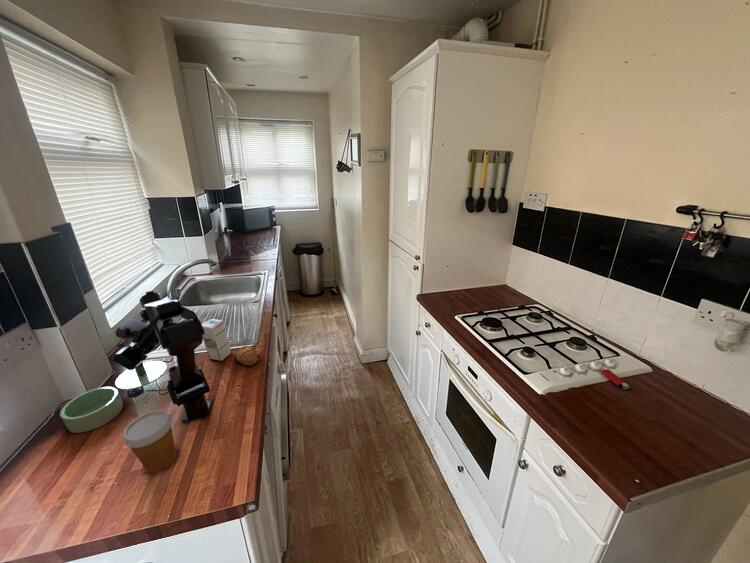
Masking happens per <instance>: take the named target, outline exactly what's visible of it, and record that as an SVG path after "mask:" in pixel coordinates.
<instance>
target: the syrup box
mask: <svg viewBox="0 0 750 563" xmlns="http://www.w3.org/2000/svg"><path fill="white" fill-rule="evenodd" d="M201 324H202V326H203V329H204V335H202V336H203V343H204V346H205V350H206V353H207V357H208V359H209V360H213V361H219V362H222V361H223V360H225V359H226V358H227V357H228V356H229V355H230V354H231V353H232V350H231V346H230V342H229V338H228V334H227V331H226V326H225V322H224V320H223V319H216V318H215V319H214V318H210V319H208V320H206V321H204V322H203V323H201Z"/></svg>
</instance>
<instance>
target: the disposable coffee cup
mask: <svg viewBox="0 0 750 563" xmlns="http://www.w3.org/2000/svg"><path fill="white" fill-rule="evenodd" d="M172 422H173V418H172V416H171V415H170V414H169V413H167V411H165V410H152V411H148V412H145V413H143V414H141V415H139V416H138V417H136V418H134V419H133V420H132V421H130V422H129V423H128V425H127V426H126V427H125V429H124V431H123V436H122V442H123V444H124V445H125V446H127V447H129V448H130V449H131V451H132V453H133V454H134V455H135V456H136V458H137V459H138V461H139V462H140V463H141V465H142V466H143V467H144V469H145V470H146V472H148V473H152V474H155V473H159V472H161V471H164V470H165V469H167V468H168V467H170V466H171V465H172V463H174V461H175V460H176V458H177V451H176V446H175V440H174V434H173V426H172V424H173V423H172Z"/></svg>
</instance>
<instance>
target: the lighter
mask: <svg viewBox="0 0 750 563" xmlns="http://www.w3.org/2000/svg"><path fill="white" fill-rule="evenodd" d="M600 372H601V374H603V376H605V377H606V378H607V379H609V381H611V382H612V383H613V384H614V385H616V386H617V387H618V388H620V389H621V388H622V389H623V390H628V389H630V385H629V384H628V383H626V382H625V381H624V380H622V379H621V378H620V377H619V376H618V375H616V374H615V373H614V372H612V370H610V369H609V368H607V369H602V370H601V371H600Z"/></svg>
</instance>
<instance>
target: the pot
mask: <svg viewBox="0 0 750 563" xmlns="http://www.w3.org/2000/svg"><path fill="white" fill-rule="evenodd" d="M123 402H124V401H123V399H122V396H121V394H120V391H119V390H118V388H117V387H114V386H102V387H96V388H94V389H93V388H92V389H91V390H88V391H86V392H85V391H84V392H83V393H80V394H79V395H77V396H75V397H74V398H72V399H71V400H70V401H68V402H67V403H65V404H64V406H63V407H62V408H61V409H60V412H59V417H60V419H61V420H62V422H63V424H64V426H65V428H66V429H67V430H68V431H69V432H70V433H75V434H78V433H79V434H80V433H85V432H90V431H92V430H95V429H97V428H100V427H102V426H104V425H106V424H107V423H108V422H109V423H110V421H112V420H113V419H115V418H116V417H117V416H118V415H119V414H120V413H121V411H122V410H123V408H124V403H123Z"/></svg>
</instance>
